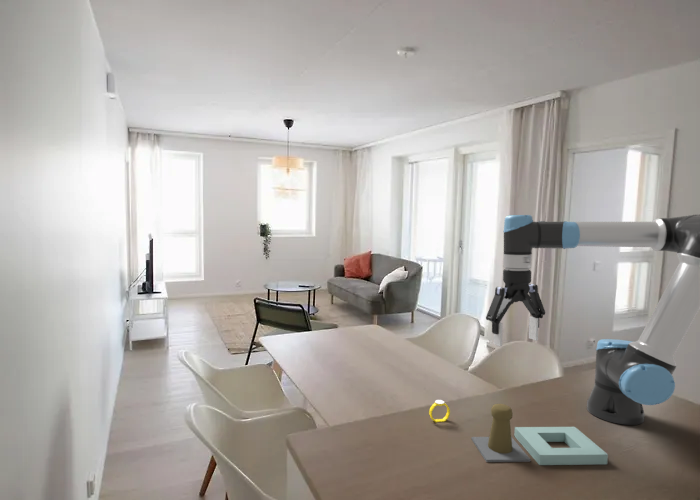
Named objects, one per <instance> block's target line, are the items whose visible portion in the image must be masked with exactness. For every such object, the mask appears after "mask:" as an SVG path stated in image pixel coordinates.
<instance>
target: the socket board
mask: <svg viewBox="0 0 700 500" xmlns="http://www.w3.org/2000/svg"><path fill="white" fill-rule="evenodd" d="M514 437H515V438H516V441H518V442H519V444H520V445H522V446H523V448H524V449H525V450H526V451H527V452H528V454H529V455H530V456H531V458H532V459H534V461H535V462H536V463H537V464H538V465H539V466H568V465H569V466H574V465H575V466H577V465H580V466H581V465H582V466H583V465H586V466H587V465H590V466H591V465H608V458H609V454H608V453H607V452H606V451H604V450H603V449H602V447H599V445H597V444H596V443H595V442H594V441H592V439H590V438H589V437H588V436H587V435H585V434H584V433H583V432H582V431H581V430H579V428H577V427H576V426H514ZM548 442H549V443H550V442H551V443H554V442H555V443H556V442H557V443H558V442H559V443H560V442H561V443H562V442H564V443H565V444H566V445H567V446H568V447H552V446H551V445H550V444H549V443H548Z"/></svg>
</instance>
